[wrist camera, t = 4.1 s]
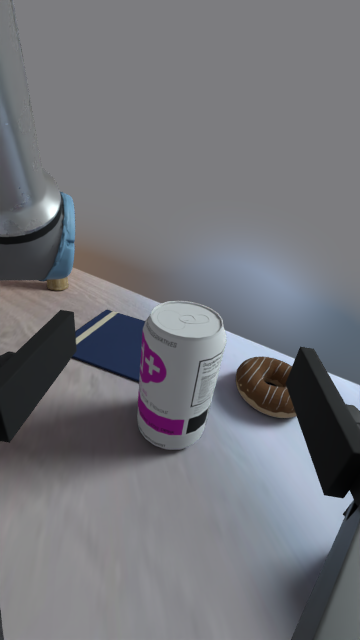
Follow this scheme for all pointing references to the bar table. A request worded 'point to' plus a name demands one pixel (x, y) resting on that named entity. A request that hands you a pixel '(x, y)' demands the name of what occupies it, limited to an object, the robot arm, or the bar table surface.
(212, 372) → the white soda can
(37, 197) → the robot arm
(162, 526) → the bar table surface
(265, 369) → the donut
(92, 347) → the tea towel
